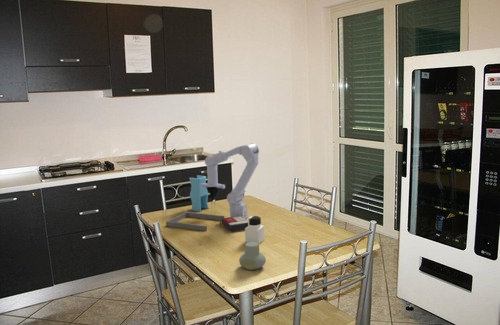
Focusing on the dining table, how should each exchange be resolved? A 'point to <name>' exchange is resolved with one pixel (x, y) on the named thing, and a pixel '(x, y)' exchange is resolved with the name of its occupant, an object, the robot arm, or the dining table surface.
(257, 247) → the air freshener
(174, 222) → the grey piece
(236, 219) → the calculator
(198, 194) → the light blue tall block
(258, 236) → the medicine bottle
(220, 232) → the dining table surface
